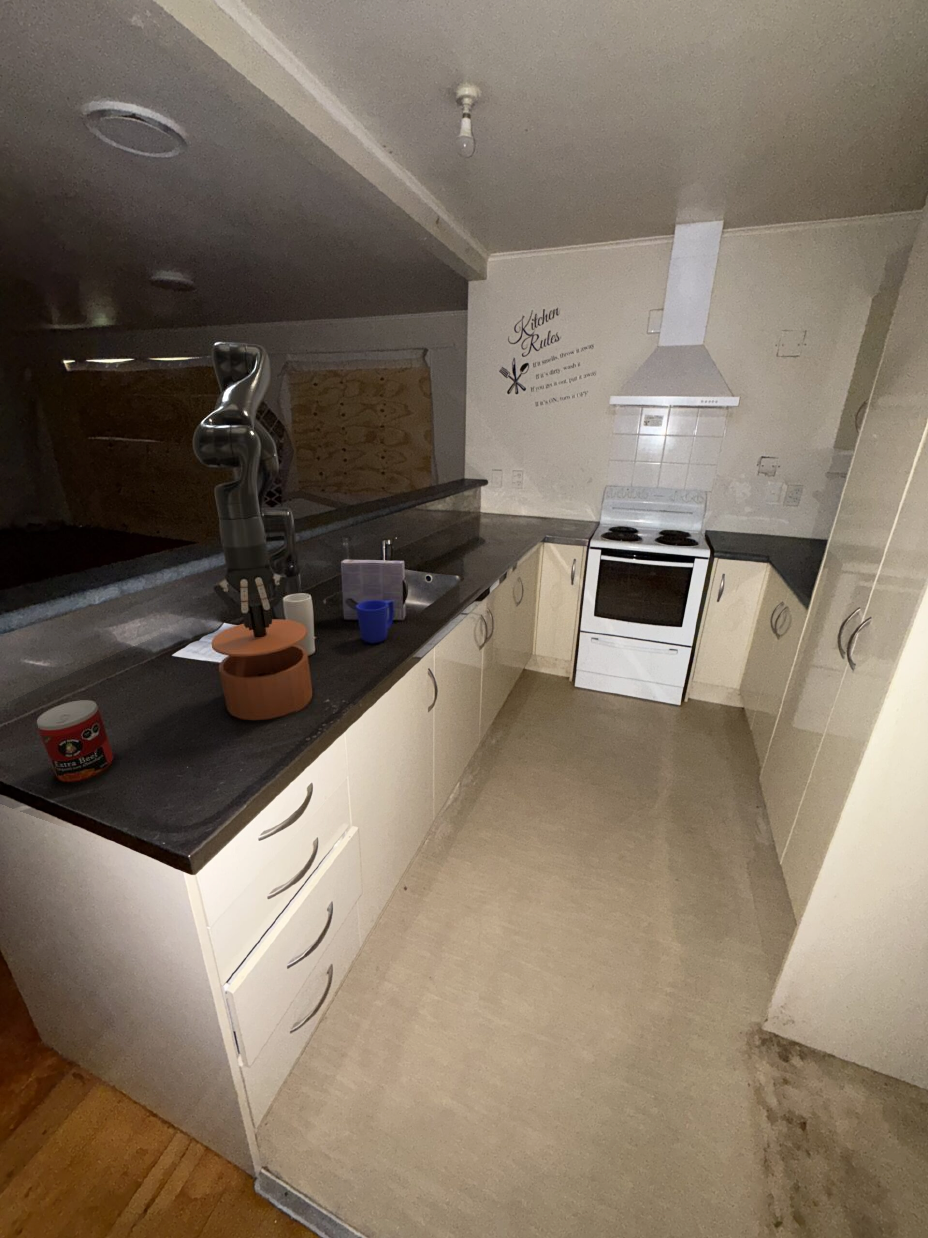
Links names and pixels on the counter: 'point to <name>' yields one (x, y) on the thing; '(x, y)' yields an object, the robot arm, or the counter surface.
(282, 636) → the pot lid
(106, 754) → the canned food
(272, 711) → the pot
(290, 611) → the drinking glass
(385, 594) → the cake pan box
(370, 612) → the mug
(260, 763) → the counter surface
